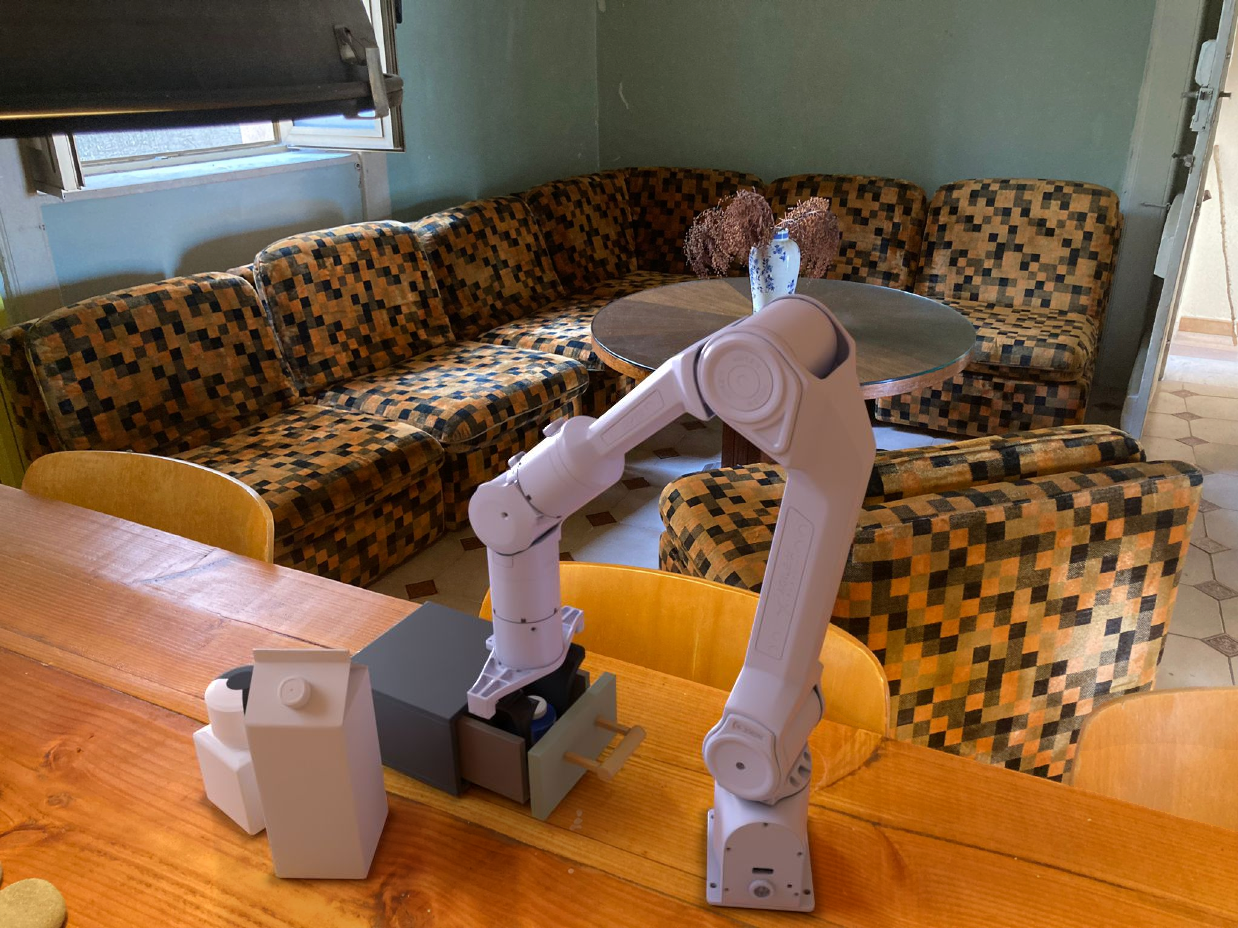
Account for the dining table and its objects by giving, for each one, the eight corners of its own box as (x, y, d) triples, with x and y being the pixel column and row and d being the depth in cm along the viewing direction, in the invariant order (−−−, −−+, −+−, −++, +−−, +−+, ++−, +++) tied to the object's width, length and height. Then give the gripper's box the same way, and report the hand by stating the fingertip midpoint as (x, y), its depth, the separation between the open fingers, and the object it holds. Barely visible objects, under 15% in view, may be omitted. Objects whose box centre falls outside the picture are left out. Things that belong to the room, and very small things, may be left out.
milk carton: (305, 811, 82) (270, 621, 74) (389, 812, 81) (362, 622, 73) (276, 879, 75) (233, 678, 67) (366, 880, 75) (334, 679, 67)
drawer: (662, 751, 87) (663, 690, 84) (592, 842, 77) (590, 777, 74) (507, 693, 94) (502, 636, 92) (425, 770, 85) (418, 708, 82)
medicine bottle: (279, 754, 88) (257, 644, 83) (326, 789, 84) (305, 676, 79) (206, 799, 83) (178, 684, 78) (252, 838, 79) (225, 720, 74)
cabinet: (544, 709, 93) (540, 637, 90) (457, 797, 83) (449, 719, 79) (435, 669, 99) (428, 600, 96) (342, 747, 89) (329, 671, 85)
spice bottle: (561, 733, 87) (559, 690, 85) (553, 765, 84) (551, 721, 82) (515, 730, 88) (512, 688, 86) (506, 762, 84) (502, 719, 82)
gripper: (535, 554, 87) (542, 678, 93) (431, 635, 76) (446, 770, 81) (603, 573, 84) (605, 700, 89) (505, 661, 72) (515, 800, 78)
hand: (534, 735), depth 85 cm, fingers open, 5 cm apart
